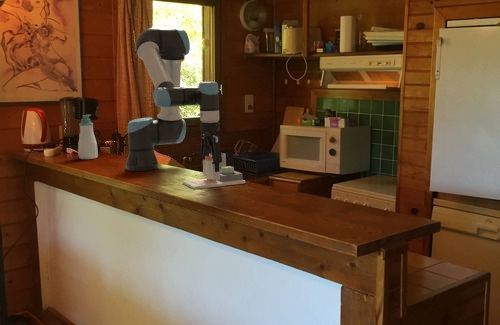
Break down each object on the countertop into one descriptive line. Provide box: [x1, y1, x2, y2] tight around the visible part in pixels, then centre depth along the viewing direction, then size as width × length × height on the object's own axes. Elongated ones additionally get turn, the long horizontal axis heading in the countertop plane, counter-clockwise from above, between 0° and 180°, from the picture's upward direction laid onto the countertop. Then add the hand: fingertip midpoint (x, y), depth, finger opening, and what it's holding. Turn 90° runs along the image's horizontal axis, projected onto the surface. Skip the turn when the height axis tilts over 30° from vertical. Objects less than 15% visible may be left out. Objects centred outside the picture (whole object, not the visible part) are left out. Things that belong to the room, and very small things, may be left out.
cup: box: [209, 152, 227, 172], centre depth 245 cm, size 7×10×9 cm
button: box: [221, 165, 235, 175], centre depth 228 cm, size 5×5×3 cm
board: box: [182, 170, 246, 190], centre depth 225 cm, size 12×22×4 cm, turn 116°
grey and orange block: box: [205, 156, 216, 182], centre depth 224 cm, size 4×4×10 cm
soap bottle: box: [77, 114, 99, 160], centre depth 298 cm, size 10×10×23 cm
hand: (211, 177), depth 225 cm, fingers open, 9 cm apart
